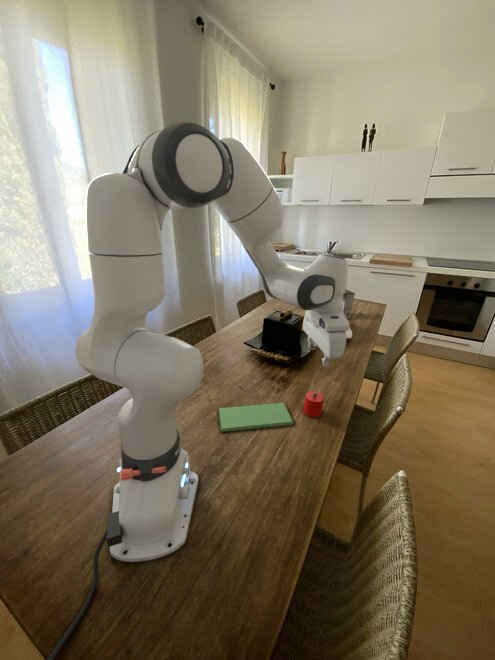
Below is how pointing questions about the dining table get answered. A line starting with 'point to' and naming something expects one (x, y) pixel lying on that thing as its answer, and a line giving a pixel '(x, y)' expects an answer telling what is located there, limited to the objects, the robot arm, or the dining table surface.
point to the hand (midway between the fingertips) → (317, 357)
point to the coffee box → (347, 303)
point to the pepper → (313, 404)
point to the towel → (254, 417)
